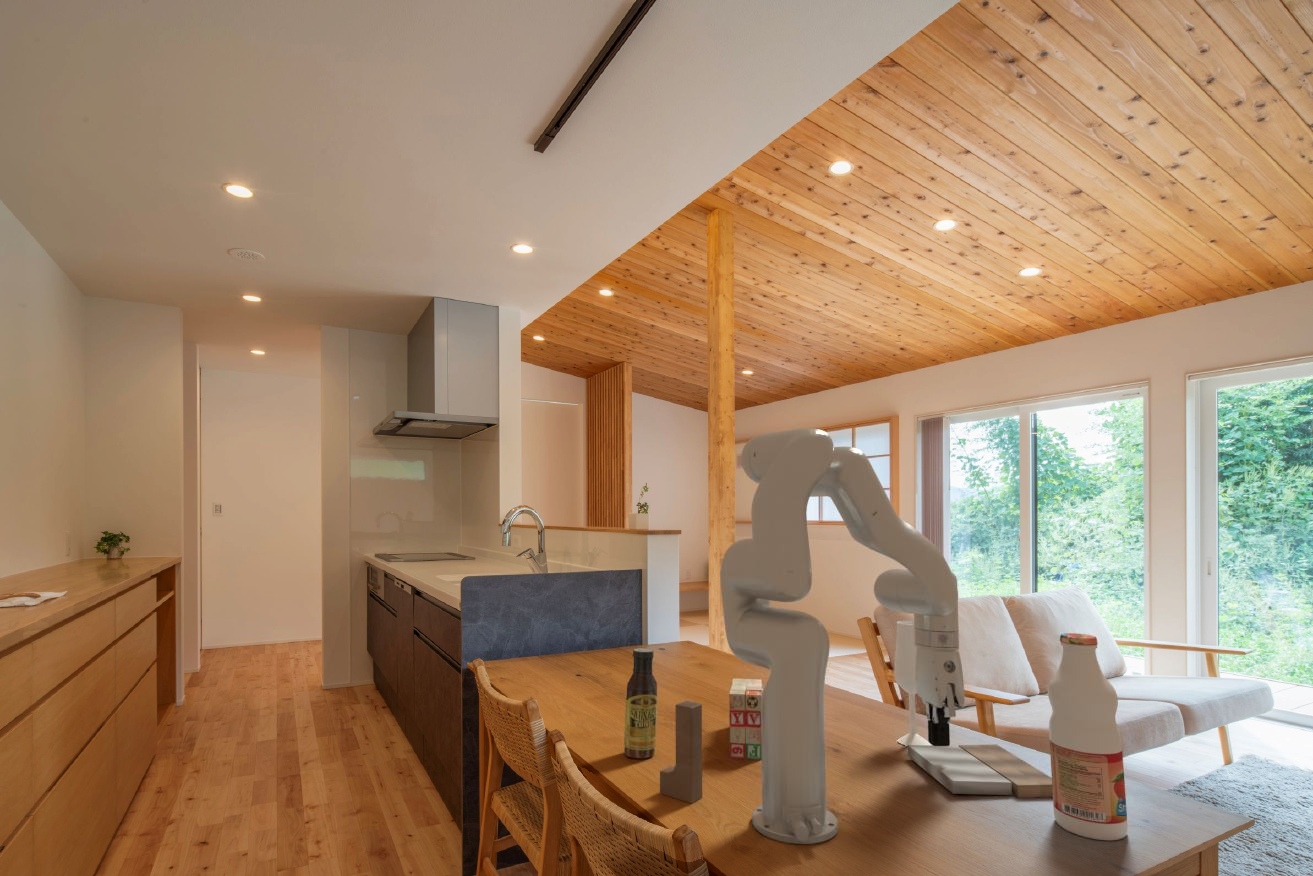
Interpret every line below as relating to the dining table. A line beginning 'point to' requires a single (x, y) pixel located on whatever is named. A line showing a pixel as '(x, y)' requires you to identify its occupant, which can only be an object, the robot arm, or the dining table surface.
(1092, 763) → the fruit juice
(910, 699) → the champagne flute
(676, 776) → the wooden block
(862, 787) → the dining table surface
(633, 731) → the sauce bottle
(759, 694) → the stack of blocks
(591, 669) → the dining table surface
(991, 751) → the walnut floor strip
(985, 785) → the grey plank
